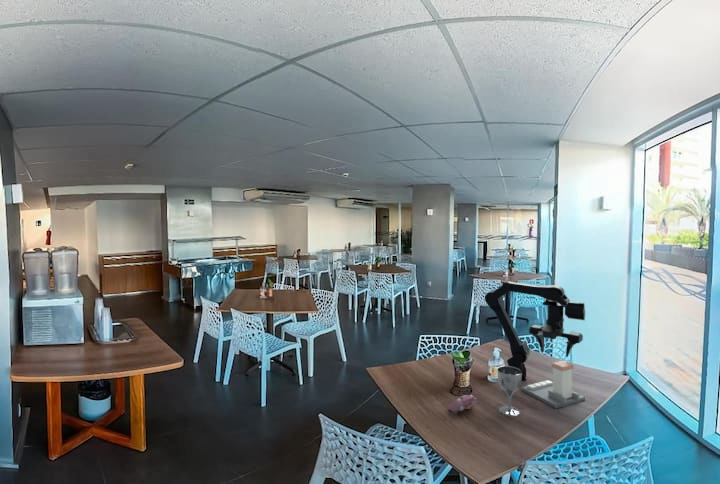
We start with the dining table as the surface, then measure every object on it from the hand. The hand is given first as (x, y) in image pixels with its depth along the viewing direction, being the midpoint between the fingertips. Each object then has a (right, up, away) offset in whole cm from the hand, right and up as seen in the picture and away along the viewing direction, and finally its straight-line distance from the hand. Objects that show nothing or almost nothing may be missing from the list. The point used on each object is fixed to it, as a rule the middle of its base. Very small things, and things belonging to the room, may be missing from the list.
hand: (554, 354), depth 148 cm
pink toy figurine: (-42, -15, -17) cm, 48 cm away
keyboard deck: (-5, -14, -7) cm, 16 cm away
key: (-3, -12, -11) cm, 17 cm away
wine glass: (-26, -15, -19) cm, 35 cm away
